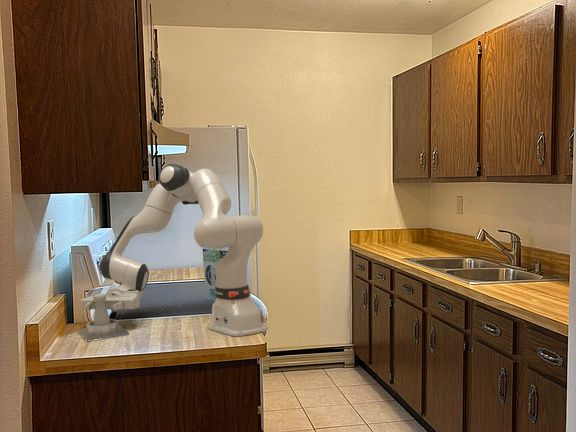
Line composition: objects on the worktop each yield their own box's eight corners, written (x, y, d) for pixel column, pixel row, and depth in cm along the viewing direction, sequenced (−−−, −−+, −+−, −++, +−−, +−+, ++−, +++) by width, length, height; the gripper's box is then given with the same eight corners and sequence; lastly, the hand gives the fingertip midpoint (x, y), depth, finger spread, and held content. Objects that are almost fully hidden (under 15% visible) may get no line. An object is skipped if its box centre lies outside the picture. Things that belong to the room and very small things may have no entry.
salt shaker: (105, 333, 191) (102, 296, 190) (90, 333, 192) (87, 296, 191) (114, 328, 196) (111, 292, 195) (99, 328, 198) (96, 292, 197)
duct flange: (129, 334, 191) (128, 323, 191) (86, 342, 184) (86, 330, 184) (116, 325, 205) (116, 314, 205) (76, 331, 198) (76, 321, 197)
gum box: (241, 303, 233) (238, 249, 231) (231, 306, 229) (229, 250, 228) (213, 297, 247) (211, 246, 245) (204, 299, 244) (201, 247, 242)
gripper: (90, 290, 208) (71, 298, 194) (142, 290, 205) (126, 298, 191) (91, 307, 208) (72, 316, 195) (143, 307, 205) (127, 316, 192)
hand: (99, 307), depth 193 cm, fingers open, 8 cm apart
